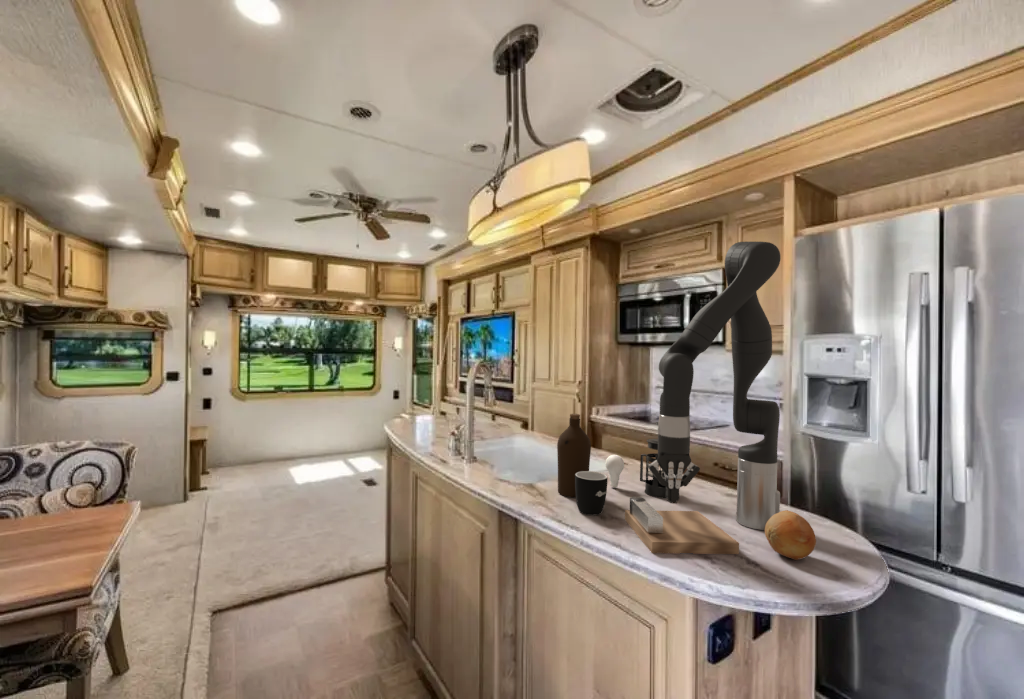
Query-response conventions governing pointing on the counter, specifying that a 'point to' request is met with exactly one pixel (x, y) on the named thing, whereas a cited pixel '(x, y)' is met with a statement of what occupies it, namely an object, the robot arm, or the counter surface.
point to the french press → (653, 485)
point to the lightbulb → (614, 469)
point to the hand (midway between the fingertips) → (672, 502)
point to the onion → (790, 535)
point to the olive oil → (572, 456)
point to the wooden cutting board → (685, 534)
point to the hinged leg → (646, 515)
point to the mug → (590, 492)
